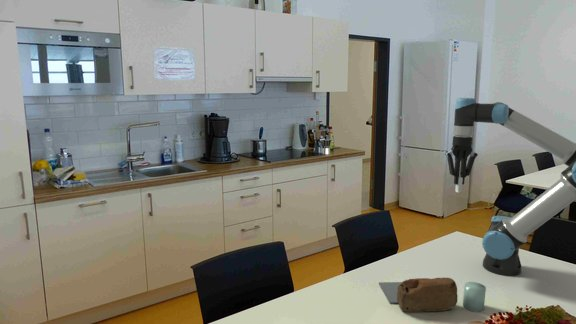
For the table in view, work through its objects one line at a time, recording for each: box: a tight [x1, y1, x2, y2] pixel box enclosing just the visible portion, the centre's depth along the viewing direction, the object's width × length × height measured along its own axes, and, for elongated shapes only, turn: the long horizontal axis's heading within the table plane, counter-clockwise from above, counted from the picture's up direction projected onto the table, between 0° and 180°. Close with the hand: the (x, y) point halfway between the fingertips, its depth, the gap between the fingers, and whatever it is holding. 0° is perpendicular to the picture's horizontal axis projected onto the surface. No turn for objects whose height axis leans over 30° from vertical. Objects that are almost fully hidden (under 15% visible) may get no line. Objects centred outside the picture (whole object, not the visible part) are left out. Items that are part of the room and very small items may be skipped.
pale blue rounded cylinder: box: [462, 281, 487, 313], centre depth 154 cm, size 7×7×8 cm
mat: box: [378, 281, 403, 305], centre depth 164 cm, size 17×16×1 cm
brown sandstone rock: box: [397, 277, 459, 313], centre depth 152 cm, size 11×8×20 cm
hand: (458, 191), depth 180 cm, fingers closed
